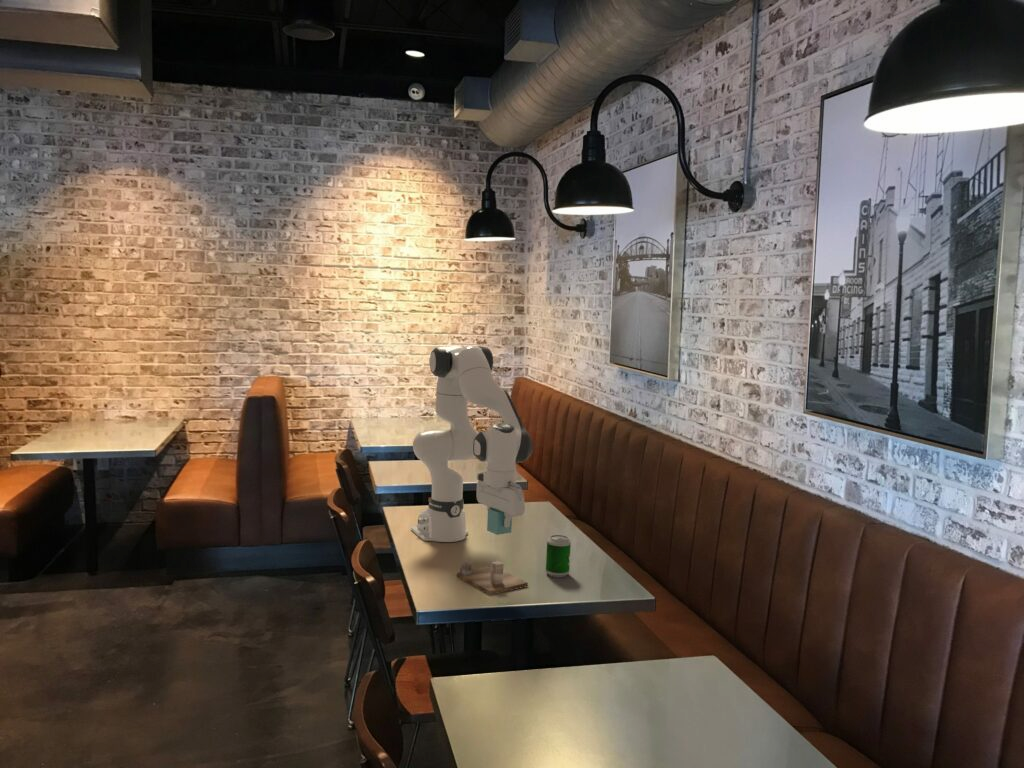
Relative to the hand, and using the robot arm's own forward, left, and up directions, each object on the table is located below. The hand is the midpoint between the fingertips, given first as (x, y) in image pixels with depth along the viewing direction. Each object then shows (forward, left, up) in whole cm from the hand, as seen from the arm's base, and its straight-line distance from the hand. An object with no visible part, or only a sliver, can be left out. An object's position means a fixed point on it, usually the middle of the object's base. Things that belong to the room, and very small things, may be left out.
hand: (499, 524), depth 241 cm
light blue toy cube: (0, 0, -2) cm, 2 cm away
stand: (-4, +1, -19) cm, 20 cm away
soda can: (+1, +23, -19) cm, 30 cm away
